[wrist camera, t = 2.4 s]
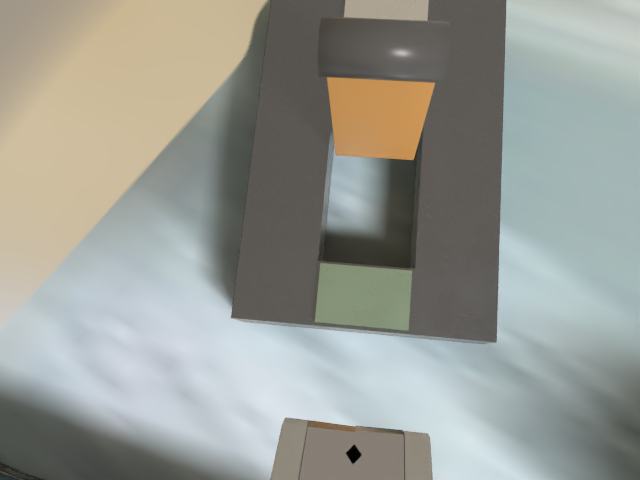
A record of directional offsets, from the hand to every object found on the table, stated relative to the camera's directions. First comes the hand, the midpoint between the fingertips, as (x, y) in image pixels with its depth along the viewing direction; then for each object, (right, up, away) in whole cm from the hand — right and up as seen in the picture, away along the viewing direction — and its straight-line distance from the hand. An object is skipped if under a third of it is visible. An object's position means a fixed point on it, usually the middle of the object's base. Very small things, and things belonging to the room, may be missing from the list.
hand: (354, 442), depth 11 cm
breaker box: (+3, +10, +28) cm, 30 cm away
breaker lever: (+3, +11, +24) cm, 26 cm away
